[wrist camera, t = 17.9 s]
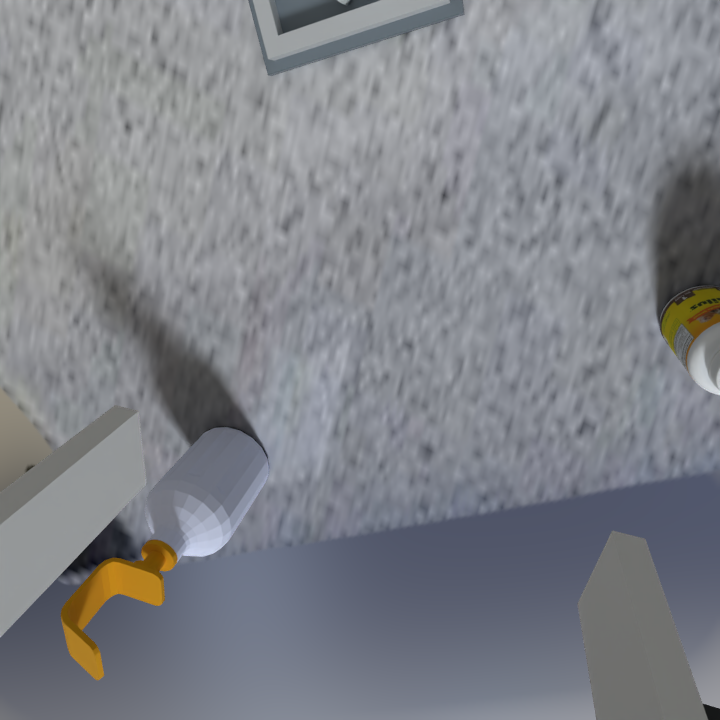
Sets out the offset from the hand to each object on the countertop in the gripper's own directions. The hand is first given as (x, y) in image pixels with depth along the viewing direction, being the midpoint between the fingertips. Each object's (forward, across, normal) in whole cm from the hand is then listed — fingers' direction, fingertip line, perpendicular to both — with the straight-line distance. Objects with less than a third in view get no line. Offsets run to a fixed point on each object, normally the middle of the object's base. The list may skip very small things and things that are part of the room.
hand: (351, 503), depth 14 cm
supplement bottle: (+32, +20, -2) cm, 38 cm away
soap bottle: (+32, -20, -28) cm, 47 cm away
